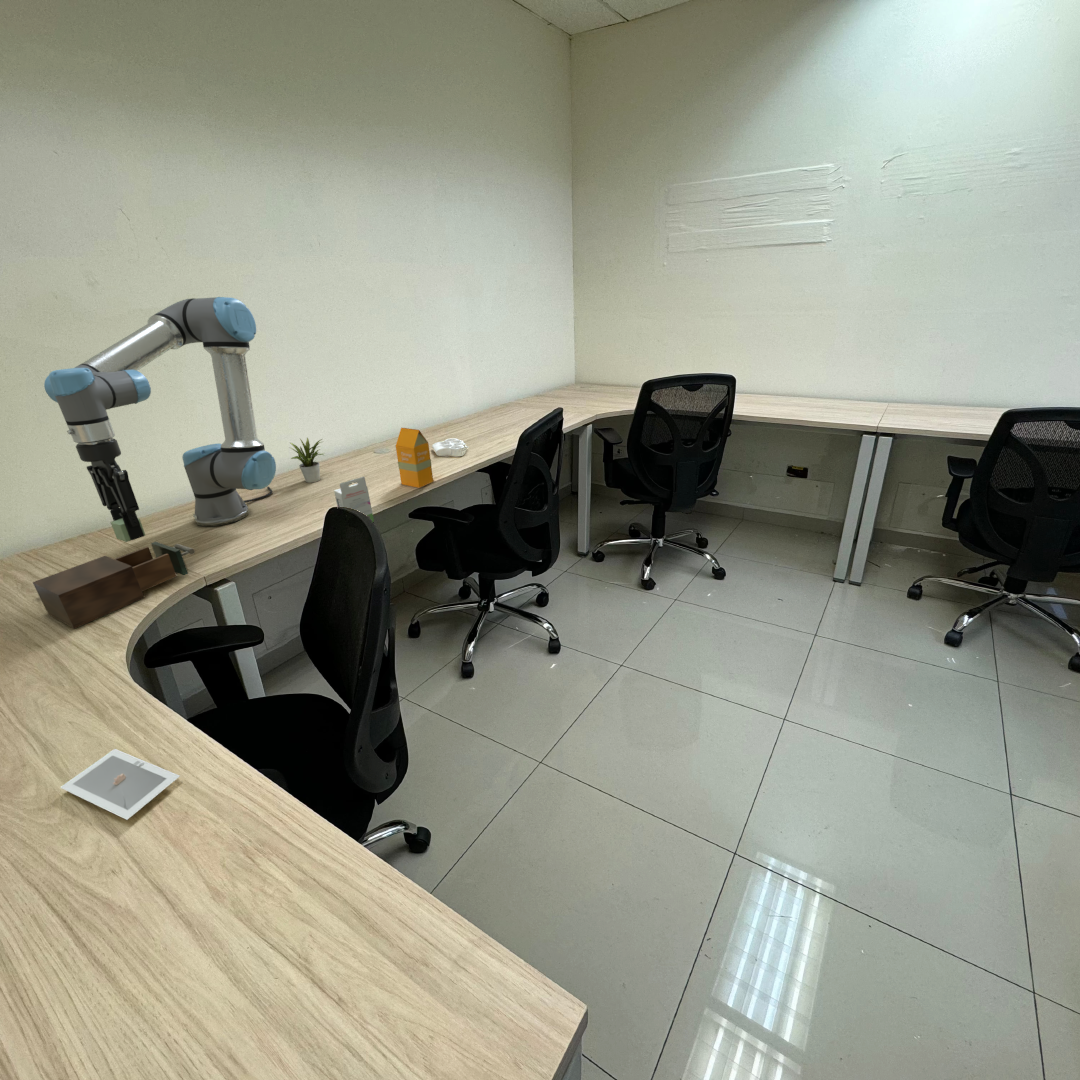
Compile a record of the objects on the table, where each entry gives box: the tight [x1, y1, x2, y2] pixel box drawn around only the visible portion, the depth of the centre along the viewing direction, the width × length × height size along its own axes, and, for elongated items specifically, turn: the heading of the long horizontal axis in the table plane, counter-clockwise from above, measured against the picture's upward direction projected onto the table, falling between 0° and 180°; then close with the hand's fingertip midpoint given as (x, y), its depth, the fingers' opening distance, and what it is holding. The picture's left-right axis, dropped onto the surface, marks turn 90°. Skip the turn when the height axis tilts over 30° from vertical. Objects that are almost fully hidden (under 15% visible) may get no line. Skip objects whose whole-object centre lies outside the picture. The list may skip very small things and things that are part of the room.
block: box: [110, 517, 146, 543], centre depth 132 cm, size 4×4×4 cm
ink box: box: [333, 476, 375, 523], centre depth 165 cm, size 9×5×15 cm, turn 134°
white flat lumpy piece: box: [431, 437, 470, 458], centre depth 236 cm, size 3×18×15 cm
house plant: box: [288, 437, 326, 484], centre depth 204 cm, size 14×14×16 cm
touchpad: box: [59, 748, 181, 821], centre depth 81 cm, size 8×15×2 cm, turn 67°
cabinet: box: [32, 555, 145, 630], centre depth 127 cm, size 15×13×9 cm
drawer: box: [114, 541, 196, 592], centre depth 138 cm, size 18×11×7 cm, turn 150°
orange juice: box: [395, 427, 434, 489], centre depth 197 cm, size 8×9×20 cm
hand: (131, 535), depth 133 cm, fingers closed on block, 4 cm apart
